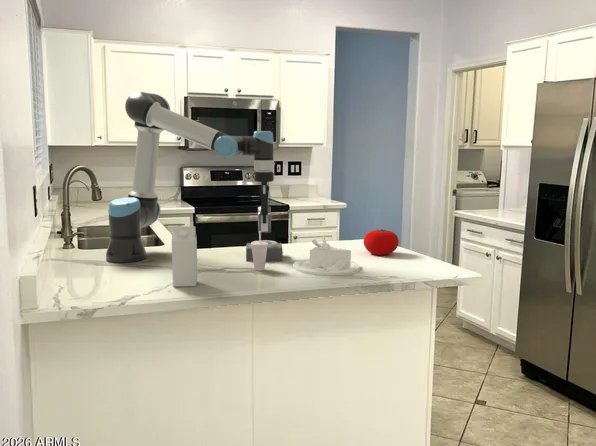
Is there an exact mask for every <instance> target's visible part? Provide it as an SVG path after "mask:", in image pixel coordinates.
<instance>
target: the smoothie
mask: <svg viewBox="0 0 596 446" xmlns="http://www.w3.org/2000/svg"><path fill="white" fill-rule="evenodd" d="M258 235H259V236H258V238H259V240H258V241H259V242H253V241H251V242H252V243H251V247H252V255H253V261H252V262H253V268H254V269H253V270H254V271H259V272H260V271H264V270H265V269H266V262H267V261H266V254H267V247H268V243H267V242H261V240H262V237H261V236H262V233H261V231H259V233H258Z"/></svg>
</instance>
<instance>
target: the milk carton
mask: <svg viewBox="0 0 596 446" xmlns="http://www.w3.org/2000/svg"><path fill="white" fill-rule="evenodd" d="M196 231H197V230H196V226H193V225H192V226H191V225H190V226H187V225H186V226H185V225H184V226H181V225H180V226H172V233H171V259H172V261H171V263H172V264H171V265H172V287H173V288H175V287H176V288H178V287H181V288H182V287H196V285H197V282H198V246H197V245H198V242H197V241H198V239H197V233H196Z"/></svg>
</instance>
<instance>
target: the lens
mask: <svg viewBox="0 0 596 446" xmlns="http://www.w3.org/2000/svg"><path fill="white" fill-rule="evenodd" d="M271 208H272V207H271V206H268V232H261V234H271V232H272V225H271V224H272V223H271V222H272V220H271V219H272V216H271V215H272V212H271ZM259 213H261V205H260V206H257V230H258V231H257V232H258V234H259V231H261V215H259Z"/></svg>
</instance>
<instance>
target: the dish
mask: <svg viewBox="0 0 596 446" xmlns="http://www.w3.org/2000/svg"><path fill="white" fill-rule="evenodd" d="M311 242H312V243H313V245H314V246H315V247H313V248H311V249H309V258H304V259H300V260H297V261H295V262H293V263H292V264H293V265H292V269H293V270H294V271H295V272H298V273H302V274H305V275H306V274H307V275H313V276H324V277H325V276H326V277H328V276H329V277H330V276H332V277H333V276H345V275H351V274H354V273H357V272H358V271H360V270H361V264H360V263H358V262H356V261H354V260H352V250H351V249H344V248H338V247H334V246H331V245H330V244H329V243H328V242H327V239H326V237H325V236H323V235H322V242H320V243H319V241H317V239H313V240H312V241H311Z"/></svg>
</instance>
